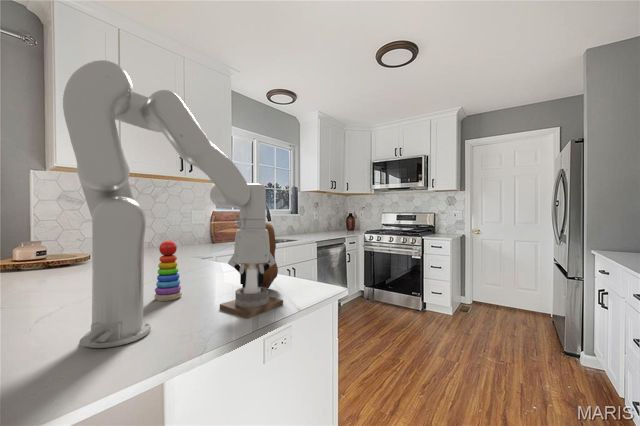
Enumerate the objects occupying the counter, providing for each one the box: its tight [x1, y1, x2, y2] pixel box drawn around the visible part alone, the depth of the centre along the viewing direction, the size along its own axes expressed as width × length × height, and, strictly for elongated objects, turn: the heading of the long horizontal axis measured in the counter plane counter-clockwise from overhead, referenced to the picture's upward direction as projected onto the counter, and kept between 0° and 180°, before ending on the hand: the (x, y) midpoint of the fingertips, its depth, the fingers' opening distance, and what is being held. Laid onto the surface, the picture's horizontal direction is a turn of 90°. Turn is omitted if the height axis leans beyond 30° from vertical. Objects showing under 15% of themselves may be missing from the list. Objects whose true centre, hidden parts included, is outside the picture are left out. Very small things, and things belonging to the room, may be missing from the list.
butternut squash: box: [245, 221, 279, 289], centre depth 103 cm, size 14×13×25 cm
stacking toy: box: [153, 240, 183, 302], centre depth 93 cm, size 8×8×19 cm
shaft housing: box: [219, 287, 284, 319], centre depth 85 cm, size 14×12×5 cm
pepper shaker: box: [243, 264, 261, 294], centre depth 85 cm, size 5×5×11 cm
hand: (252, 285), depth 85 cm, fingers closed on pepper shaker, 4 cm apart
